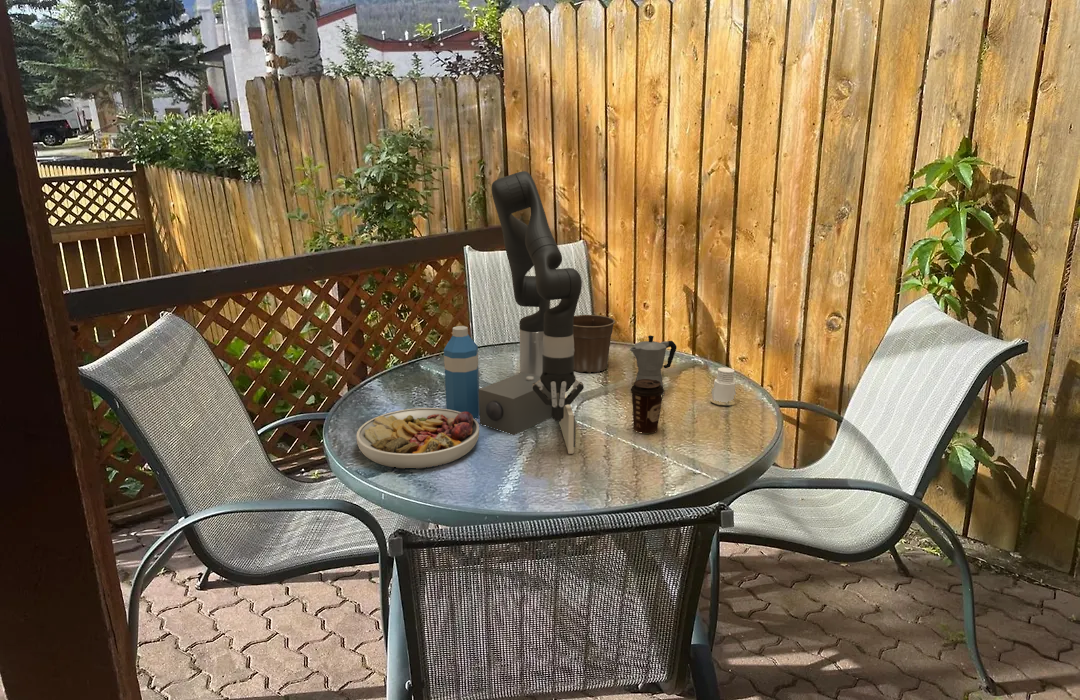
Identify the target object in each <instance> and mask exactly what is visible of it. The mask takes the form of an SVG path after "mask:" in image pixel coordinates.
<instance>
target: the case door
mask: <svg viewBox="0 0 1080 700" xmlns="http://www.w3.org/2000/svg"><path fill="white" fill-rule="evenodd" d="M556 395H557V405H558V399H559V393H556ZM567 396H568V394H567V392H565V398H566V397H567ZM558 423H559V427H560V429H561V433H562V436H563V440H564V444H565V446H566V450H567V454H568V455H570V454H574V448H576V439H577V438H576V434H577V433H576V431H577V430H576V424H577V421H576V418H575V415H574V412H573V410H572V407H571V404H570V405H565V406H564V417H563V419H561V421H558Z"/></svg>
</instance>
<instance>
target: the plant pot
mask: <svg viewBox="0 0 1080 700" xmlns="http://www.w3.org/2000/svg"><path fill="white" fill-rule="evenodd" d="M615 323H616V320H615V319H614V318H612V317H609V316H606V315H605V316H604V315H598V314H577V315H574V319H573V338H574V349H575V351H574V372H578V373H585V372H586V373H589V374H592V373H591V372H597V373H601V372H600V371H602V372H604V371H606V370H607V369H606V368H608V366H609V365H608V363H609V355H610V346H611V338H612V334H613V331H614V330H613V329H614V325H615ZM605 369H606V370H605ZM603 370H604V371H603Z"/></svg>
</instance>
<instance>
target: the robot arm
mask: <svg viewBox="0 0 1080 700" xmlns="http://www.w3.org/2000/svg"><path fill="white" fill-rule="evenodd" d="M491 197H492V200H493V204H494V206H495V210H496V213H497V217H498V219H499V223H500V227H501V232H502V236H503V243H504V249H505V253H506V257H507V261H508V263H509V268H510V273H511V280H512V289H513V296H514V301H515V302H516V305H518V306H520V307H527V308H528V307H530V308H531V307H532V308H538V311H536V312H535V313H532V314H529V315H527V316H526V315H525V316H524V317H521V319H520V320H519V373H521V372H524V373H528V374H532V375H536V376H540V380H539V381H538V382H536V383H533V384H532V388H533V390H534V391H535V392H536V394H537V395H538V396H539V397H540V398H541V400H542V401H543V402H544V403H545V404H546V405H551V406H552V417H551V418H552V420H554V422H559V421H561V419H563V417H564V406H565V405H570V406H571V404H572V403H573V402H574V401H575V399H577V397H578V396H579V395H580V393H581V392H582V391H583V390H584V389H585V386H584V384H583V382H582V381H579V380H578V379H577V377H576V375H575V370H574V351H575V349H574V338H573V319H574V316H575V315H576V309H577V307H578V302H579V299H580V297H581V292H582V288H583V281H582V277H581V275H580V272H579V271H578V270H577V269H575V268H573V267H567V268H566V267H565V268H559V267H560V265H561V264H562V263H563V256H562V253H561V251H560V248H559V246H558V244H557V242H556V240H555V238H554V236H553V234H552V231H551V228H550V226H549V222H548V219H547V216H546V212H545V208H544V206H543V203H542V200H541V197H540V194H539V190H538V188H537V185H536V183H535V181H534V178H533V177H532V175H531V174H530V173H529V172H528V171H525V170H522V171H518V172H515V173H513V174H508V175H506V176H503V177H499V178H497V179H495V180H494V181H493V182H492V184H491ZM529 208H530V216H529V217H530V218H529V221H528V224H526V222H523V221H522V220H520V219H519V218H517V217H515V216H514V215H513V214H514V213H518V212H520V211H523V210H525V209H529ZM532 268H533V269H534V274H535V275H527V274H528V273H529V271H531V269H532ZM555 300H560V301H559V303H558V305H556V306H554V307H551V301H555ZM542 384H543V385H544V386H545V388H546V389H547V390H548V391H549V392H550V393H551V399H550V398H548V397H547V395H546V394H545V393H544V392H543V391H542V389H543V387H542ZM571 388H573V389H572V390H571V391H570V393H569V394H567V397H566V398H565V392H566V393H567V392H568V391H569V390H570V389H571ZM556 393H559V399H558V405H557V395H556Z"/></svg>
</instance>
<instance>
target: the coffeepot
mask: <svg viewBox="0 0 1080 700" xmlns="http://www.w3.org/2000/svg"><path fill="white" fill-rule="evenodd" d="M647 338H648V341H639V342H636V343H635V344H634V346H632V347H629V348H630V349H629V351H631V353H632V354H633V355H634V357H635V360H636V366H637V373H636V377H635V381H637V380H641V379H651V380H657V381H659V382H660V383H661V386H663V387H664V382H663V375H662V369H670V368H671V365H672V363H673V360H674V356H675V354H676V351H677V344H675V342H674V341H673V340H667V341H666V340H665V341H661V342H658V341H653V340H654V336H653V335H648V336H647ZM668 348H670V350H669V354H668V357H667V363H666V364H665V365H664V361H665V357H666V352H667V349H668ZM663 394H664V395H665V391H664V392H663ZM663 394H661V395H663Z"/></svg>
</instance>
